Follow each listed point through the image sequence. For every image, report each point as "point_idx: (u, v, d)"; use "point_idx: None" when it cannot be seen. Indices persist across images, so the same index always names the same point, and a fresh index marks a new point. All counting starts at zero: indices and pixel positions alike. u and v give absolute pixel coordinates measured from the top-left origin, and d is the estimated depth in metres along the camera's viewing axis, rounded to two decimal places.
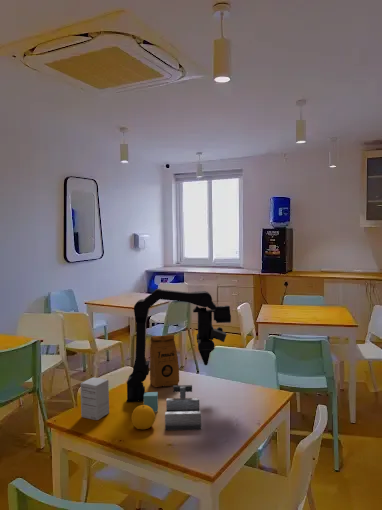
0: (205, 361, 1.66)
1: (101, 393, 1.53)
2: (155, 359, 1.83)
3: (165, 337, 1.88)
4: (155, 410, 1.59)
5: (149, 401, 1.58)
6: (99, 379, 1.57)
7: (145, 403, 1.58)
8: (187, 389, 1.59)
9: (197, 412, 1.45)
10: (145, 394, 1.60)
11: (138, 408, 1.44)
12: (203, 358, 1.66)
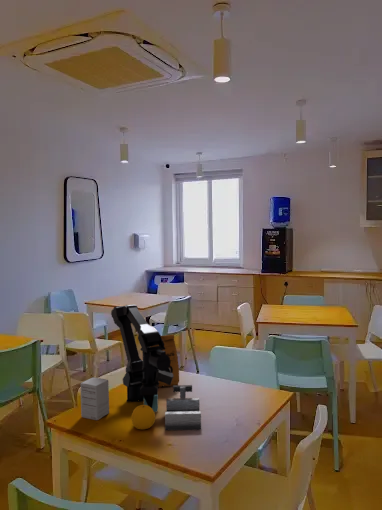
0: (149, 404, 1.58)
1: (101, 393, 1.53)
2: None
3: (165, 337, 1.88)
4: (155, 410, 1.59)
5: None
6: (99, 379, 1.57)
7: (145, 403, 1.58)
8: (187, 389, 1.59)
9: (197, 412, 1.45)
10: None
11: (138, 408, 1.44)
12: (147, 400, 1.57)
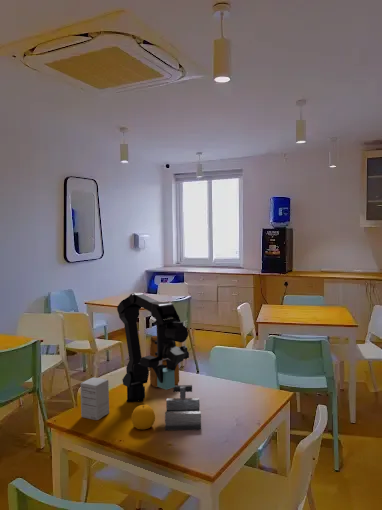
0: (159, 378, 1.53)
1: (101, 393, 1.53)
2: None
3: None
4: (164, 387, 1.52)
5: None
6: (99, 379, 1.57)
7: None
8: (187, 389, 1.59)
9: (197, 412, 1.45)
10: None
11: (138, 408, 1.44)
12: (156, 374, 1.53)
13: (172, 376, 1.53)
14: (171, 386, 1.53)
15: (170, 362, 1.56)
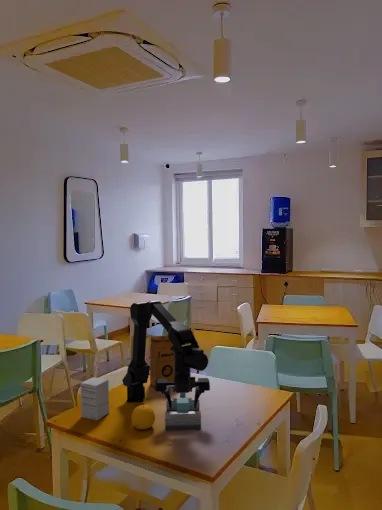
0: (169, 404, 1.49)
1: (101, 393, 1.53)
2: (155, 359, 1.83)
3: (165, 337, 1.88)
4: None
5: None
6: (99, 379, 1.57)
7: None
8: None
9: (197, 412, 1.45)
10: (181, 398, 1.51)
11: (138, 408, 1.44)
12: None
13: (185, 408, 1.47)
14: None
15: (195, 390, 1.50)
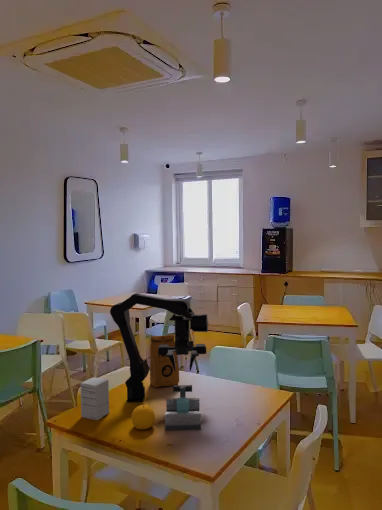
0: (173, 366, 1.69)
1: (101, 393, 1.53)
2: (155, 359, 1.83)
3: (165, 337, 1.88)
4: None
5: None
6: (99, 379, 1.57)
7: None
8: (187, 389, 1.59)
9: (197, 412, 1.45)
10: (181, 398, 1.51)
11: (138, 408, 1.44)
12: None
13: (185, 408, 1.47)
14: None
15: (191, 354, 1.69)
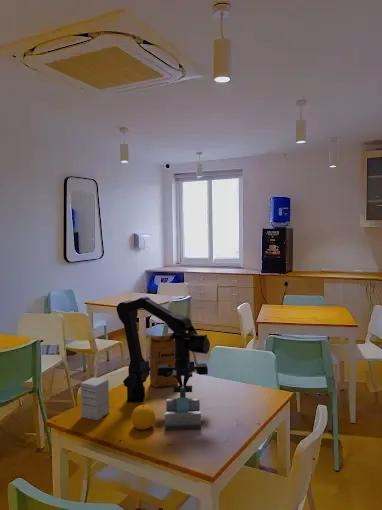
0: None
1: (101, 393, 1.53)
2: (155, 359, 1.83)
3: (165, 337, 1.88)
4: None
5: None
6: (99, 379, 1.57)
7: None
8: (187, 389, 1.59)
9: (197, 412, 1.45)
10: (181, 398, 1.51)
11: (138, 408, 1.44)
12: None
13: (185, 408, 1.47)
14: None
15: None
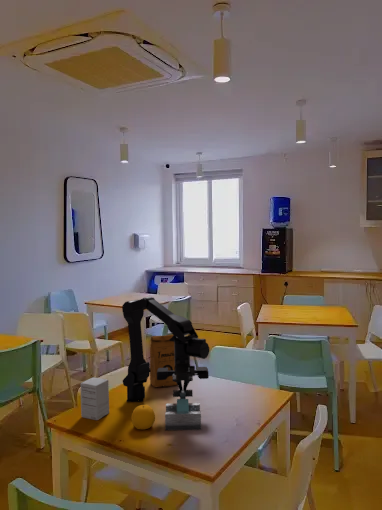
0: None
1: (101, 393, 1.53)
2: (155, 359, 1.83)
3: (165, 337, 1.88)
4: None
5: None
6: (99, 379, 1.57)
7: None
8: (187, 393, 1.54)
9: (197, 412, 1.45)
10: (181, 399, 1.50)
11: (138, 408, 1.44)
12: None
13: (185, 409, 1.46)
14: None
15: None
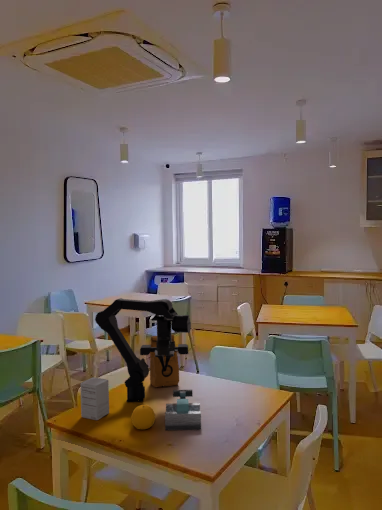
0: None
1: (101, 393, 1.53)
2: (155, 359, 1.83)
3: None
4: None
5: None
6: (99, 379, 1.57)
7: None
8: (187, 393, 1.54)
9: (197, 412, 1.45)
10: (181, 399, 1.50)
11: (138, 408, 1.44)
12: None
13: (185, 409, 1.46)
14: None
15: None
